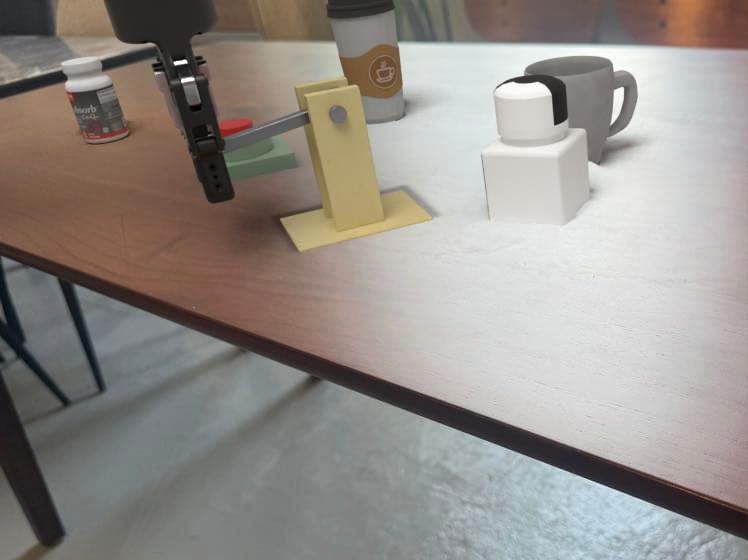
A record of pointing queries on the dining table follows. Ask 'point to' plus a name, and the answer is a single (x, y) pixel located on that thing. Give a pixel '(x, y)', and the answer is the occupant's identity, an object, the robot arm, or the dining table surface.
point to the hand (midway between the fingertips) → (217, 190)
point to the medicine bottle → (535, 155)
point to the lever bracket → (344, 172)
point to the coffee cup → (370, 55)
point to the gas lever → (266, 130)
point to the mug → (591, 96)
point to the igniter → (260, 159)
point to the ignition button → (234, 126)
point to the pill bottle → (94, 101)
